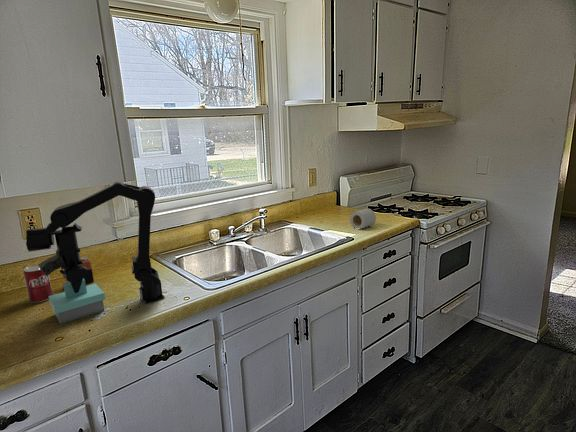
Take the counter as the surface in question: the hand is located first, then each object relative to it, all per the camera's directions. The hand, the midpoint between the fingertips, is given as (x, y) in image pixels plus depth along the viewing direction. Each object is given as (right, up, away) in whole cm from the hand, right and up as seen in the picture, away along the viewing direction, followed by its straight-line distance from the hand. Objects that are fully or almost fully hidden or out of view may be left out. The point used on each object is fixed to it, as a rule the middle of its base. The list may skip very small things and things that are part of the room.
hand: (75, 291), depth 125 cm
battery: (-11, -2, +26) cm, 28 cm away
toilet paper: (+111, +18, +89) cm, 143 cm away
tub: (0, -7, +2) cm, 8 cm away
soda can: (-20, -5, +13) cm, 24 cm away
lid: (0, -3, +1) cm, 3 cm away
